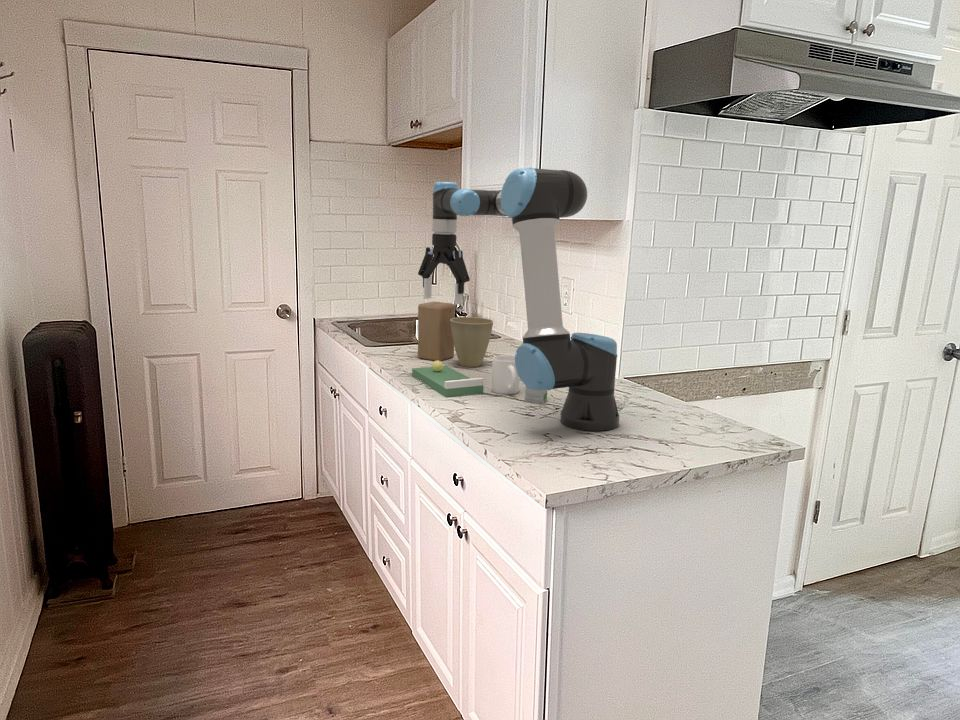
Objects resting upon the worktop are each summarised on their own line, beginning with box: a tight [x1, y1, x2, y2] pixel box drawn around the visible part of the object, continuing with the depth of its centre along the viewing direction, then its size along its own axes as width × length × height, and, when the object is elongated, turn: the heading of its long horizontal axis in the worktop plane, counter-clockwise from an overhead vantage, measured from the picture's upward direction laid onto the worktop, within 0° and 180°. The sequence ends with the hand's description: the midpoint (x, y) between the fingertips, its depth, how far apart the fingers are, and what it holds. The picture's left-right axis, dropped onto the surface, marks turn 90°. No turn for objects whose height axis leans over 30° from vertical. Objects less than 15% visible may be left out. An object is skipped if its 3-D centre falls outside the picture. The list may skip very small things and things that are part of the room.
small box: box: [523, 385, 548, 404], centre depth 201 cm, size 6×6×5 cm
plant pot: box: [450, 316, 494, 368], centre depth 242 cm, size 15×15×16 cm
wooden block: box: [417, 301, 456, 362], centre depth 252 cm, size 10×10×20 cm
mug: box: [491, 354, 520, 396], centre depth 207 cm, size 12×8×10 cm
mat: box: [411, 365, 485, 398], centre depth 216 cm, size 28×12×4 cm, turn 26°
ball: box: [431, 360, 444, 372], centre depth 222 cm, size 4×4×4 cm
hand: (442, 301), depth 220 cm, fingers open, 13 cm apart
